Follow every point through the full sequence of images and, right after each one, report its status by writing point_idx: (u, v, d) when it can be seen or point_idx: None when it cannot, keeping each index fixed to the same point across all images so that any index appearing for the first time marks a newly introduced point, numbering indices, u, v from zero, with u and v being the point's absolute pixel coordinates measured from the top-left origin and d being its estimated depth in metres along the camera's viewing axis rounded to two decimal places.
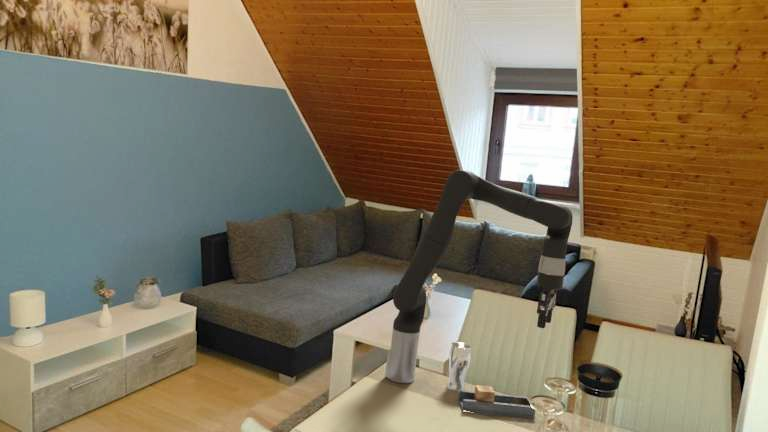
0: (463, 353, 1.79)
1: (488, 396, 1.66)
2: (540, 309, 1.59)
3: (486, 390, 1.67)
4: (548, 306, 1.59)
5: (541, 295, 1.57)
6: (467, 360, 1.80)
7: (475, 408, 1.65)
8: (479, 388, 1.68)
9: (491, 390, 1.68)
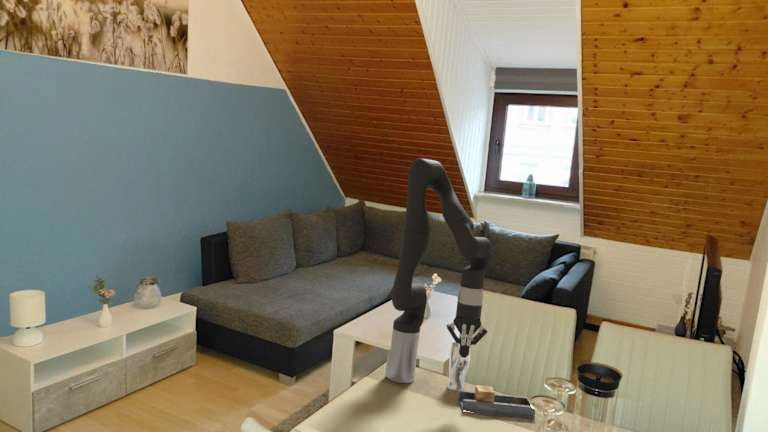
0: None
1: (488, 396, 1.66)
2: None
3: (486, 390, 1.67)
4: None
5: None
6: (467, 360, 1.80)
7: (475, 408, 1.65)
8: (479, 388, 1.68)
9: (491, 390, 1.68)
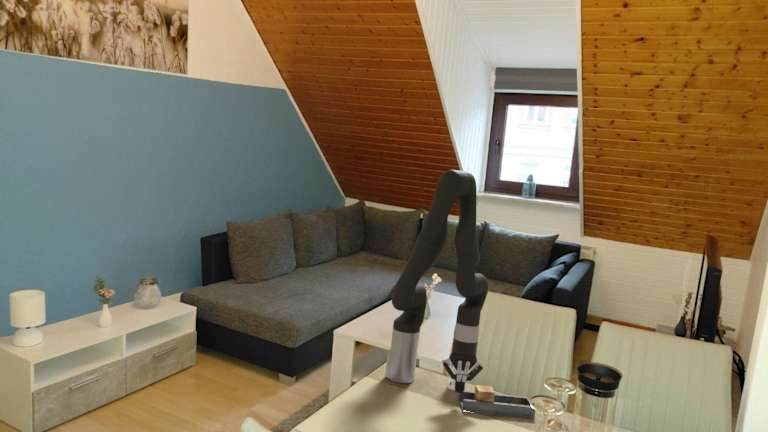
0: None
1: (488, 396, 1.66)
2: None
3: (486, 390, 1.67)
4: None
5: None
6: None
7: (475, 408, 1.65)
8: (479, 388, 1.68)
9: (491, 390, 1.68)
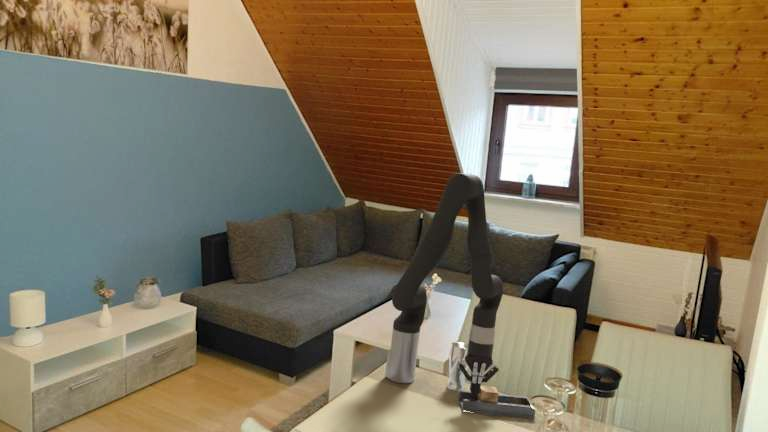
0: (463, 353, 1.79)
1: (492, 396, 1.66)
2: None
3: (489, 390, 1.67)
4: None
5: None
6: None
7: (475, 408, 1.65)
8: (483, 388, 1.68)
9: (495, 390, 1.68)
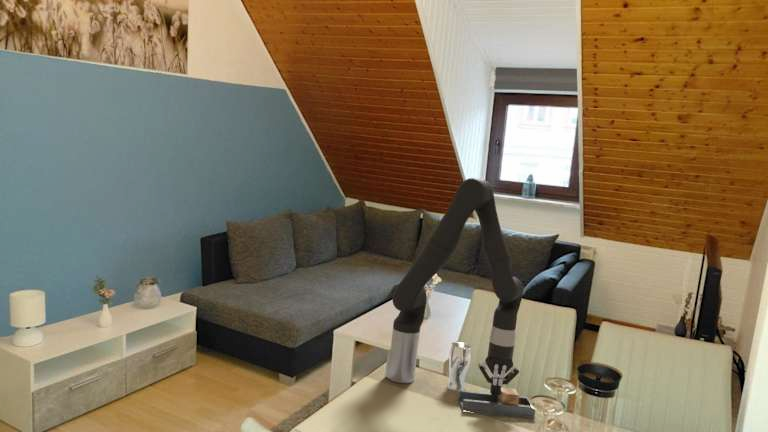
0: (463, 353, 1.79)
1: (512, 398, 1.67)
2: None
3: (510, 393, 1.67)
4: None
5: None
6: (467, 360, 1.80)
7: (475, 408, 1.65)
8: (503, 390, 1.69)
9: (515, 392, 1.68)
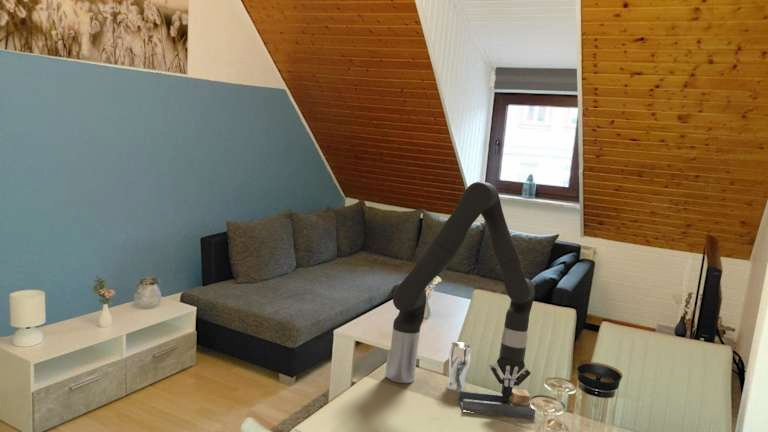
0: (463, 353, 1.79)
1: (523, 400, 1.67)
2: None
3: (521, 394, 1.68)
4: None
5: None
6: (467, 360, 1.80)
7: (475, 408, 1.65)
8: (515, 391, 1.69)
9: (526, 394, 1.68)
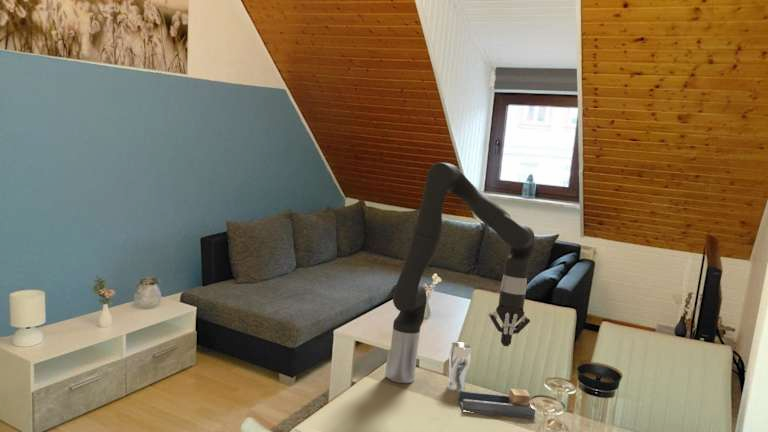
0: (463, 353, 1.79)
1: (524, 400, 1.67)
2: None
3: (521, 394, 1.68)
4: None
5: None
6: (467, 360, 1.80)
7: (475, 408, 1.65)
8: (515, 391, 1.69)
9: (526, 394, 1.68)
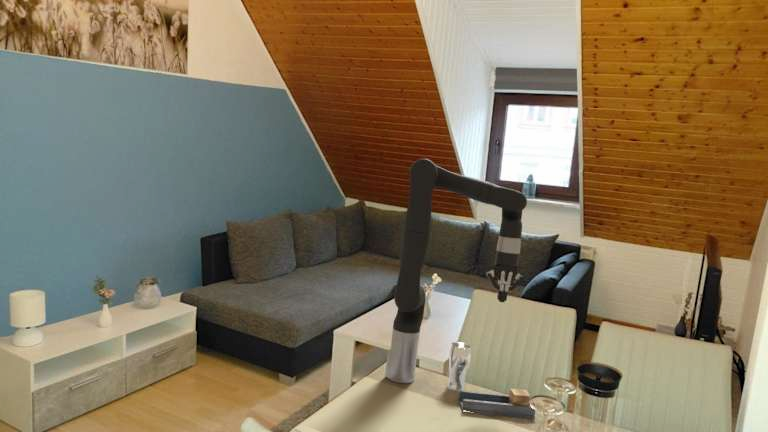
0: (463, 353, 1.79)
1: (524, 400, 1.67)
2: None
3: (521, 394, 1.68)
4: None
5: None
6: (467, 360, 1.80)
7: (475, 408, 1.65)
8: (515, 391, 1.69)
9: (526, 394, 1.68)
